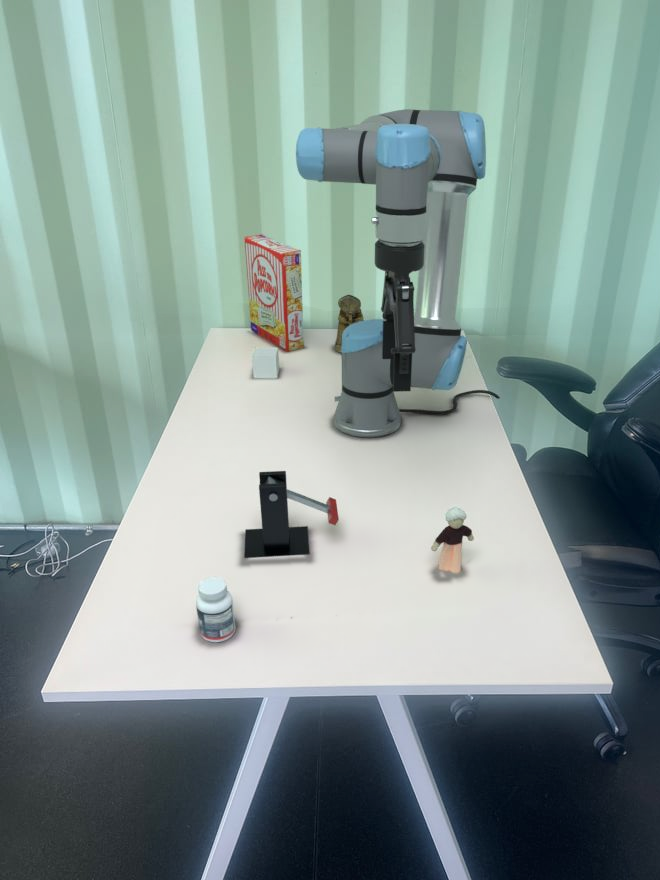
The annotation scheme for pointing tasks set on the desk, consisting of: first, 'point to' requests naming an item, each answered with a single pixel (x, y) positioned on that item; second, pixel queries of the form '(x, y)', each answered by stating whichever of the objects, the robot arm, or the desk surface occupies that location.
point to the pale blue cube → (265, 362)
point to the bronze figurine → (347, 316)
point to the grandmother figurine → (452, 540)
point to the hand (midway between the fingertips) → (395, 373)
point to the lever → (312, 502)
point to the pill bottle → (215, 610)
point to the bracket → (275, 523)
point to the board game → (275, 291)
